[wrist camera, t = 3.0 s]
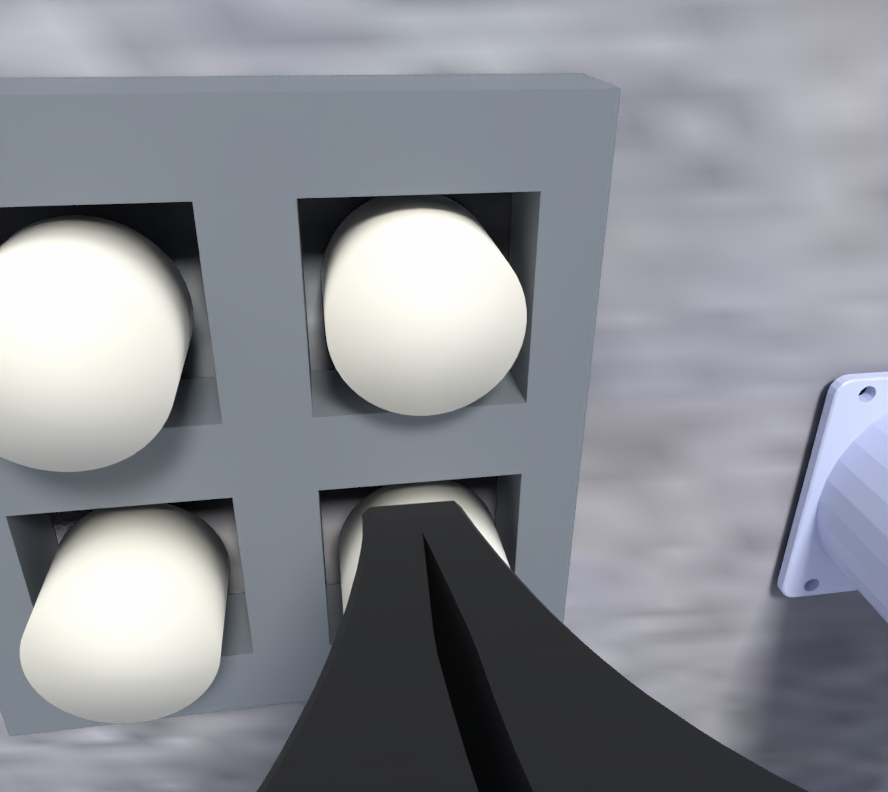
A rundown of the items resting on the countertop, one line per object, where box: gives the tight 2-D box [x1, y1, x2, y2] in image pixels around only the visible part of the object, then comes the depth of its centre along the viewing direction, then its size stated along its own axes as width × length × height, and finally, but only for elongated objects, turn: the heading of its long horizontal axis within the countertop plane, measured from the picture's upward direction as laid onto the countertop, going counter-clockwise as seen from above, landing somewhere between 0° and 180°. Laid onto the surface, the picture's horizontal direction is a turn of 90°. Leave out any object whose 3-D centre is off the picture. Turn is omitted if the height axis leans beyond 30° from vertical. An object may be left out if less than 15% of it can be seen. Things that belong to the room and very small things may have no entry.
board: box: [0, 74, 621, 736], centre depth 20 cm, size 15×16×2 cm
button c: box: [339, 480, 510, 615], centre depth 20 cm, size 4×4×3 cm
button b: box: [0, 215, 194, 472], centre depth 16 cm, size 4×4×3 cm
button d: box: [20, 503, 230, 724], centre depth 19 cm, size 4×4×3 cm
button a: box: [321, 194, 527, 416], centre depth 18 cm, size 4×4×3 cm
